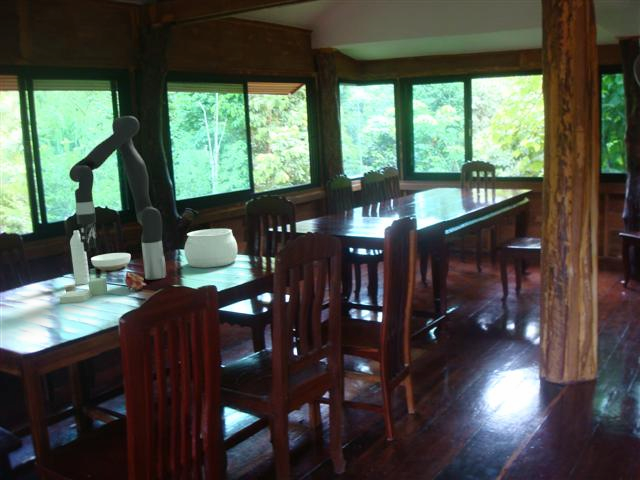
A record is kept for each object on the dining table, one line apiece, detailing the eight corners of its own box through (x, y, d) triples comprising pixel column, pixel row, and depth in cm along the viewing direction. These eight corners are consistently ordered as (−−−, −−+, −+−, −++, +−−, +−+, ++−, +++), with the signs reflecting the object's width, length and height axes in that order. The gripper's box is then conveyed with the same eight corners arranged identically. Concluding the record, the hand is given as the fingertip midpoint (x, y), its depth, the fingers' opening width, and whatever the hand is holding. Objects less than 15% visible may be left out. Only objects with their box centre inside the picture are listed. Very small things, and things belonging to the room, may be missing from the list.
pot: (214, 256, 366) (211, 226, 363) (251, 259, 350) (248, 228, 347) (172, 267, 342) (169, 235, 339) (210, 271, 327) (207, 238, 324)
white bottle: (82, 285, 314) (76, 231, 310) (72, 284, 317) (65, 231, 313) (96, 280, 322) (90, 228, 317) (86, 280, 324) (79, 228, 320)
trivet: (91, 295, 292) (90, 289, 292) (84, 301, 282) (84, 295, 282) (67, 297, 292) (67, 291, 291) (60, 303, 282) (59, 297, 281)
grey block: (76, 293, 299) (75, 284, 298) (76, 295, 295) (75, 286, 295) (66, 294, 298) (65, 285, 297) (66, 296, 294) (65, 287, 293)
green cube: (107, 291, 299) (105, 277, 298) (104, 294, 293) (102, 280, 292) (93, 292, 299) (92, 278, 298) (89, 295, 293) (88, 281, 292)
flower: (121, 290, 291) (131, 274, 290) (117, 282, 298) (126, 267, 298) (141, 299, 296) (151, 283, 296) (136, 290, 304) (145, 275, 303)
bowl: (139, 265, 354) (138, 253, 353) (110, 273, 338) (108, 261, 337) (114, 263, 364) (112, 252, 363) (84, 271, 348) (82, 259, 347)
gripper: (89, 214, 285) (93, 252, 288) (99, 209, 299) (103, 246, 302) (71, 215, 285) (76, 253, 288) (82, 211, 299) (86, 247, 302)
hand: (90, 249), depth 295 cm, fingers open, 8 cm apart
